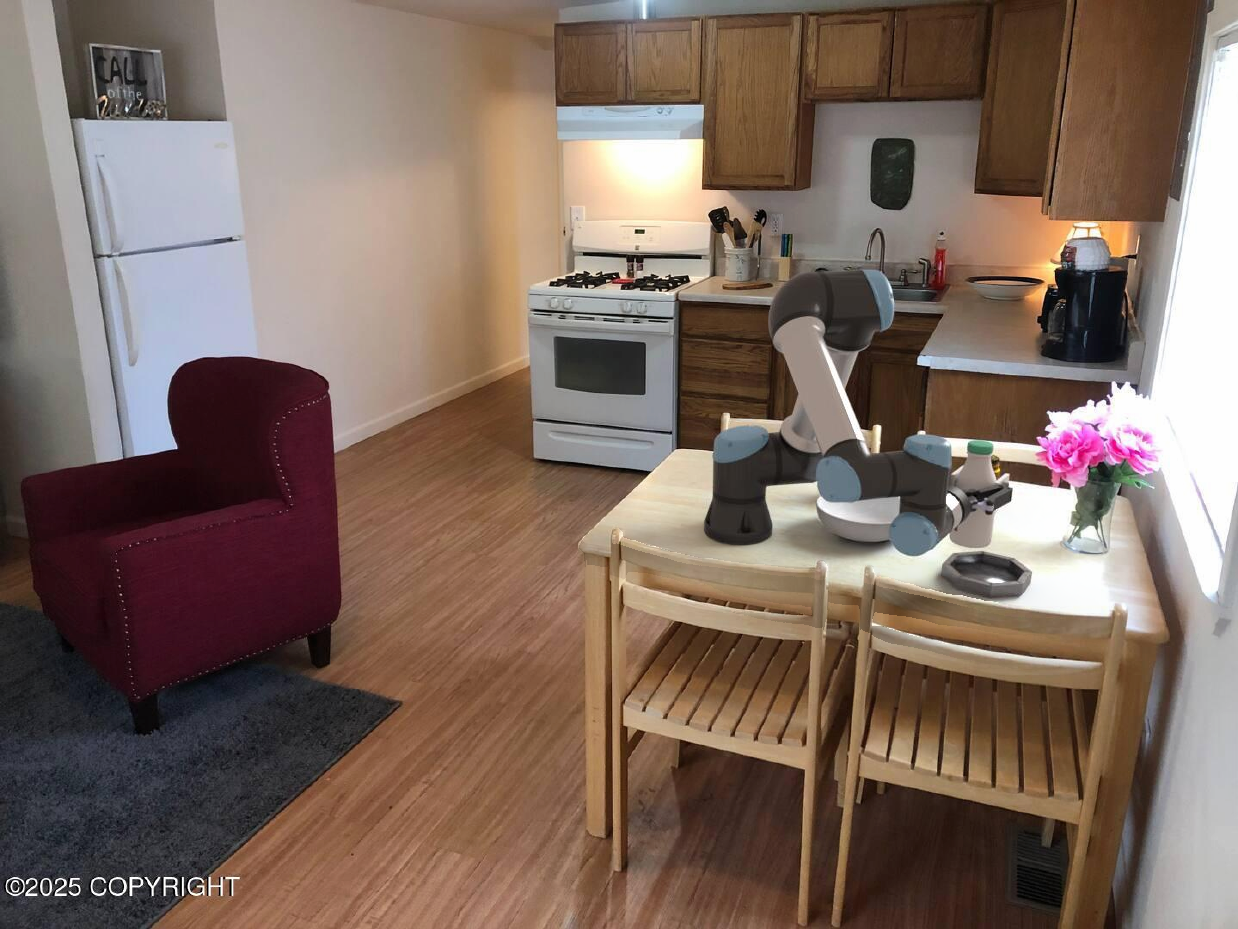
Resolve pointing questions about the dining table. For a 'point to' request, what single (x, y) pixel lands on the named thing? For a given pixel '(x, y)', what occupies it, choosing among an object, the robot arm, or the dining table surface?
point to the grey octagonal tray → (986, 574)
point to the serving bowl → (859, 518)
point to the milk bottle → (976, 476)
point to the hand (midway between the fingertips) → (985, 476)
